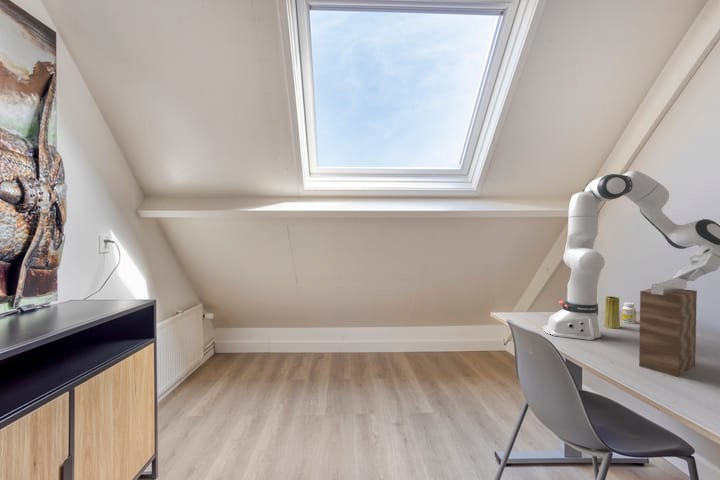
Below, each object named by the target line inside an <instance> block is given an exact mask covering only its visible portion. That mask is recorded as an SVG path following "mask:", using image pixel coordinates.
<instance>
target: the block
mask: <svg viewBox="0 0 720 480" xmlns="http://www.w3.org/2000/svg"><path fill="white" fill-rule="evenodd" d="M687 282H688V281H687V280H685V279H669V280H665V281H660V282H657V283H651V288H650V289H651V294H659V295H665V294H669V293H672V292H675V291H678V290H682V289H685V290H686V289H687V287H688V286H687V285H688V283H687Z"/></svg>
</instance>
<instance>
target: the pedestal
mask: <svg viewBox="0 0 720 480" xmlns="http://www.w3.org/2000/svg"><path fill="white" fill-rule="evenodd" d="M697 292H698V290H694V289H693V290H692V289H686V288H685V289H682V290H678V291H675V292H672V293H669V294H665V295H659V294H651V288H648V289H644V290H640V291H639V293H640V295H639V298H640V299H639V348H638V349H639V354H638V355H639V356H638V360H639V363H638V365H639V367H642V368H645V369H649V370H652V371H655V372H658V373H662V374H667V375H669V376H673V377H677V378H679V377H681V376H682V375H683V374H685V373H687V372H688V371H690V370H691V369H693V368H694V367H696V347H697V346H696V342H697V295H698V294H697Z"/></svg>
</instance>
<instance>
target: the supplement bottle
mask: <svg viewBox="0 0 720 480" xmlns="http://www.w3.org/2000/svg"><path fill="white" fill-rule="evenodd" d="M636 314H637V309H636V307H635V303H633V302H628V301H627V302H623V306H622V307H621V321H622V323H626V324H635V323H636V317H637V315H636Z"/></svg>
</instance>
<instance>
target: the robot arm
mask: <svg viewBox="0 0 720 480" xmlns="http://www.w3.org/2000/svg"><path fill="white" fill-rule="evenodd" d="M623 196H624V197H626V198H628V199H629V200H630V201H631V202H633V203H634V204H636V206H637V207H638V208H639V212H640V214H641V215H642V216H643V217H644V219H645V220H647V221H648V222H649V223H650V224H651V225H652V226H653V227H654V228H655V229H656V230H657V231H658V232H659V233H660V234H661V235H662V236H663V237H664V239H665V240H666V241H667V243H668V244H669V245H670V246H671V247H673V248H675V249H678V250H684V249H688V248H690V247H693V246H694V247H695V246H698V249H697V250H696V251H695V252H694V253H693V254H692V255H691V256H690V257H689V261H690V264H689V265H686V266H685V267H683V268H681V269H680V270H679V271H678V272H676V274H674V275H673V276H672V279H685V280H687V282H689V281H690V282H694V281H696V280H697V279H698V278H700V277H702V276H705V275H707V274H710V273H712V272H715V271H717V270H718V269H719V268H720V224H719V223H717V221H714V220H711V219H708V218H703V219H699V220H695V221H691V222H689V223H684V224H676V223H674V221H672V219H671V218H669V216H667V215H666V214H665V213H664V212H663V210H662V209H663V208H664V207H665V206H666V204H667V202H669V199H670V193H669V190H668V189H667V188H666V187H665V186H664V185H663V184H661V183H660V182H659V181H657V180H656V179H654V178H653V177H651V176H649V175H647V174H645V173H643V172H641V171H638V170H630V171H627V172H625V173H623V174H617V173H610V174H606V175H601V176H598V177H596V178H593V179H591V180H589V182H588V183H586V185H585V186H584V189H583V190H582V191H579V192H576V193H574V194H573V195H572V196H571V198H570V201H569V206H568V216H567V217H568V218H567V219H568V220H567V223H568V224H567V237H566V243H565V248H564V253H563V254H562V255H563V256H562V260H563V262H564V264H565V266H567V267H568V268H569V269H571V270H570V271H571V272H570V277H569V281H568V282H567V288H566V289H567V293H566V294H567V299H566V301H562V300H559V302H558V304H559V305H560V306H561V307H562V309H560V310H558V311H556V312H554V314H551V315H550V316H549V318H548V321H547V324H544V325H542V328H543V329H542V330H543V332H544V333H546V334H547V333H548V334H547V335H550V334H551V335H550V336H552V335H553V337H561V338H571V339H578V340H585V341H586V340H588V341H594V340H595V339H597V338H601V337H602V334H601V331H600V328H599V321H598V316H599V304H598V283H599V280H600V277H601V273H602V269H604V267H605V264H606V263H605V258H604V256H603V255H602V254H601V252H599V251H598V250H596V249H594V245H595V240H596V239H597V236H598V233H599V231H598V230H599V228H598V227H599V206H600V205H601V203H602V202H609V201H612V200H617V199H618V198H621V197H623ZM672 279H671V280H672Z"/></svg>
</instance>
